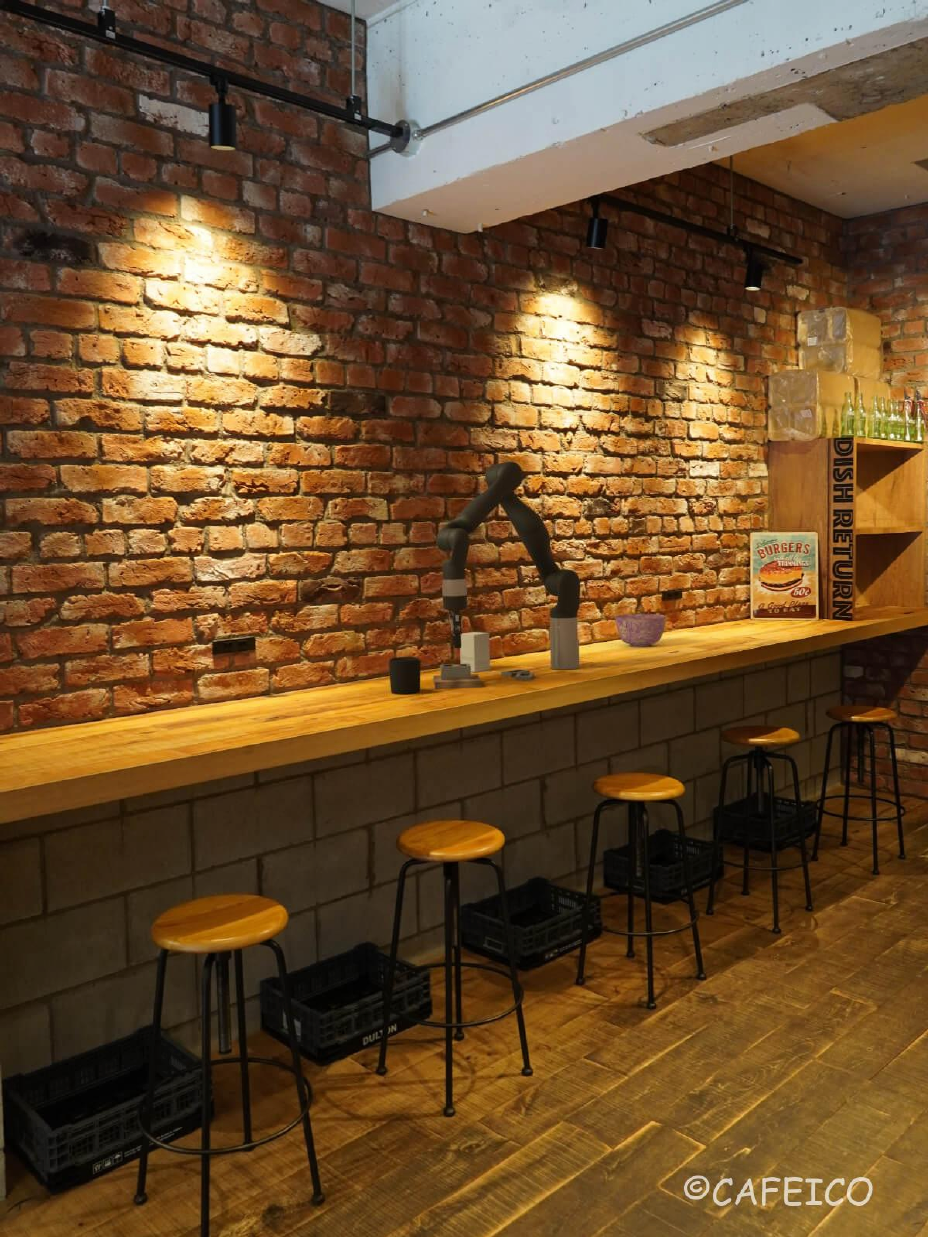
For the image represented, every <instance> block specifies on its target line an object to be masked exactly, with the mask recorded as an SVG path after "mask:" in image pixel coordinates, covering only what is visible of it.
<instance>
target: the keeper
mask: <svg viewBox="0 0 928 1237" xmlns="http://www.w3.org/2000/svg"><path fill="white" fill-rule="evenodd" d="M453 666H460V665H453ZM432 677H433V686H434V689H435V690H438V689H439V690H441V689H443V690H444V689H445V690H446V689H470V688H471V689H472V688H473V689H474V688H475V689H476V688H482V686H483V683H482V679H481V678H480V676H479V674H478V673H474V674H473V673H471V679H460V680H441V675H433V676H432Z"/></svg>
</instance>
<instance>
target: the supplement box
mask: <svg viewBox="0 0 928 1237" xmlns="http://www.w3.org/2000/svg"><path fill="white" fill-rule="evenodd" d="M459 652H460V653H459V655H460V656H459V657H460V664H470V666H471V673H477V672H478V673H480V672H486V671H490V670H491V659H490V658H491V656H490V655H491V654H490V633H489V632H479V631H472V632H464V633H463V632H462V635H461V648H459Z"/></svg>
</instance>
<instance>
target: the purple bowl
mask: <svg viewBox="0 0 928 1237" xmlns="http://www.w3.org/2000/svg"><path fill="white" fill-rule="evenodd" d="M614 620H615V624H616V629H617V632H618V635H619V638H620V639H621V641H622V642H623V643H624V644H627V645H629V646H630V647H631V648H632V647H633V648H647V647H648V648H649V647H652V645H654V644H656V643H658V642H659V641H660V640H661V638H662V637H663V633H664V630H665V626H666V620H667V616H666V615H663V614H651V613H650V614H647V613H642V614H641V613H640V614H639V613H637V614H634V613H633V614H621V615H615V616H614Z"/></svg>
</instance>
